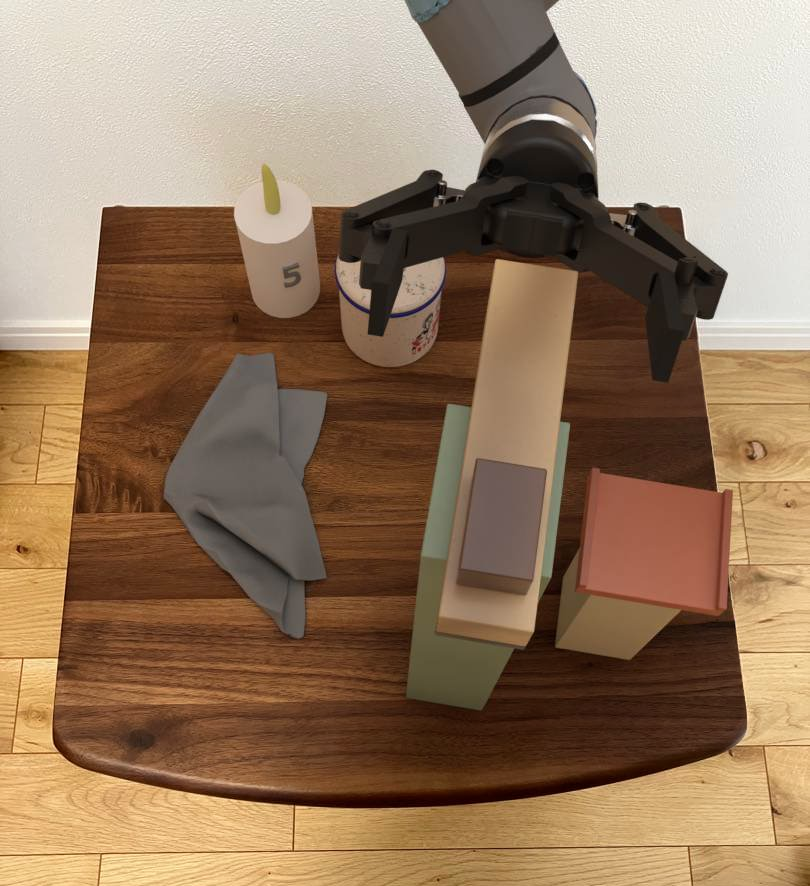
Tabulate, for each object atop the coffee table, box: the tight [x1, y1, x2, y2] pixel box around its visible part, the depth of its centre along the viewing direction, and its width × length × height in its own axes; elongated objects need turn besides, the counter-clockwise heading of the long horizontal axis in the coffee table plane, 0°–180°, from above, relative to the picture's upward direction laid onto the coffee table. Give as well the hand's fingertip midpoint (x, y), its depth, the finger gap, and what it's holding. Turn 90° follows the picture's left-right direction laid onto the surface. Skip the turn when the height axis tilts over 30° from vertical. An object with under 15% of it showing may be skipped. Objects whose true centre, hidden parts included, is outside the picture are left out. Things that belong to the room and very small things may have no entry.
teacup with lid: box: [334, 252, 447, 368], centre depth 81 cm, size 12×9×12 cm
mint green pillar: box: [405, 403, 571, 712], centre depth 60 cm, size 6×8×33 cm
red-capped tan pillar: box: [554, 467, 734, 661], centre depth 68 cm, size 9×8×19 cm
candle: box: [233, 163, 321, 319], centre depth 80 cm, size 6×6×15 cm
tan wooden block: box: [435, 258, 579, 651], centre depth 43 cm, size 4×18×5 cm, turn 171°
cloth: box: [163, 352, 328, 640], centre depth 79 cm, size 26×14×2 cm, turn 0°
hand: (521, 333), depth 44 cm, fingers open, 13 cm apart
